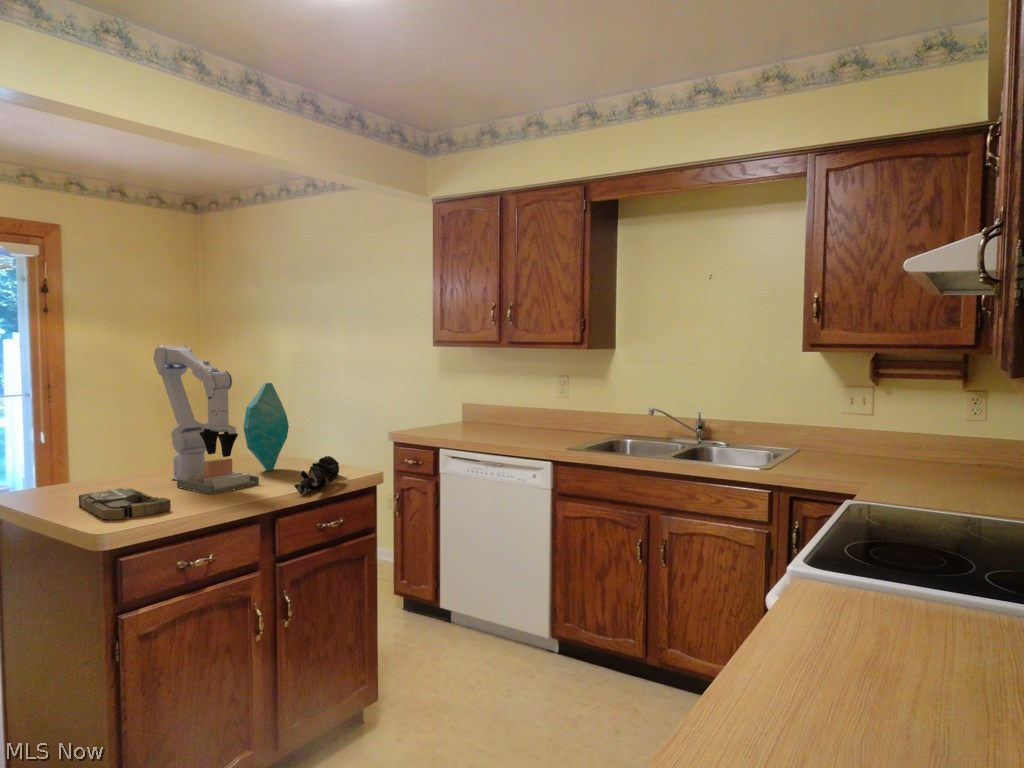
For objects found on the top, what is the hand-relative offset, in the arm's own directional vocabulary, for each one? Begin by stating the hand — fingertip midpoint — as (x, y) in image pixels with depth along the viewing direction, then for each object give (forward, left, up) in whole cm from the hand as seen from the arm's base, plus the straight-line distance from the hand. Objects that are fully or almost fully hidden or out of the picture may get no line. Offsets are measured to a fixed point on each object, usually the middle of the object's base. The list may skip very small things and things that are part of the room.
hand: (219, 455), depth 199 cm
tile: (0, -1, -8) cm, 8 cm away
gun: (+4, -30, -10) cm, 32 cm away
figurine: (+24, +18, -10) cm, 32 cm away
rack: (0, -1, -9) cm, 9 cm away
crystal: (-8, +23, -10) cm, 26 cm away
